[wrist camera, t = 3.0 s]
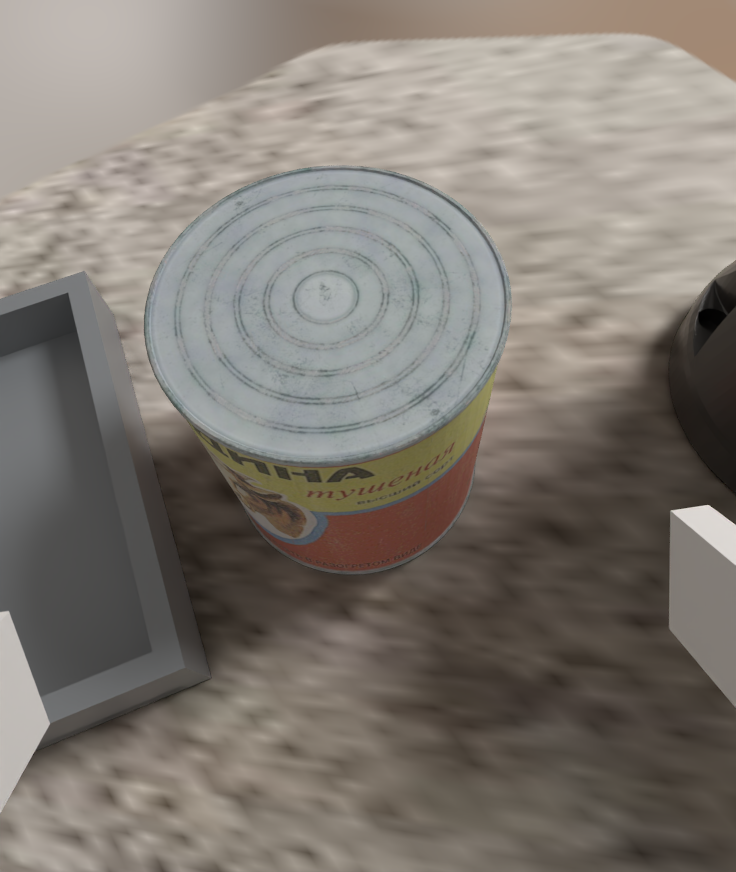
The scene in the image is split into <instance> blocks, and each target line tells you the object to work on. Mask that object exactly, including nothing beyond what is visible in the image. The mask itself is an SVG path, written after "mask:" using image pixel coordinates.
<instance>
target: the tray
mask: <svg viewBox="0 0 736 872" xmlns="http://www.w3.org/2000/svg"><path fill="white" fill-rule="evenodd" d="M5 611H9V613H10V616H11V618H12V621H13V624H14V627H15V629H16V632H17V635H18V638H19V640H20V643H21V646H22V648H23V651H24V654H25V657H26V659H27V662H28V665H29V668H30V670H31V673H32V676H33V679H34V681H35V684H36V687H37V689H38V692H39V695H40V698H41V700H42V703H43V706H44V709H45V711H46V714H47V717H48V720H49V722H50V725H49V726H48V728H47V730H46V732H45V734H44V736H43V737H42V739H41V741H40V743H39V745H38V746H37V748H36V750H35V751H37V750H39V749H42V748H44V747H47V746H49V745H51V744H54V743H56V742H59V741H61V740H63V739H66V738H68V737H71V736H73V735H75V734H78V733H80V732H83V731H85V730H87V729H90V728H92V727H95V726H97V725H99V724H102V723H104V722H107V721H109V720H111V719H114V718H116V717H119V716H121V715H124V714H126V713H128V712H131V711H133V710H136V709H138V708H140V707H143V706H145V705H148V704H150V703H152V702H155V701H157V700H160V699H162V698H164V697H167V696H169V695H172V694H174V693H176V692H179V691H181V690H184V689H186V688H188V687H191V686H193V685H196V684H198V683H200V682H203V681H205V680H208V679H210V678H211V674H210V671H209V667H208V663H207V659H206V656H205V652H204V648H203V645H202V641H201V637H200V633H199V630H198V626H197V622H196V619H195V615H194V611H193V607H192V604H191V600H190V596H189V593H188V589H187V585H186V582H185V578H184V574H183V570H182V567H181V563H180V559H179V556H178V552H177V548H176V544H175V541H174V537H173V533H172V530H171V526H170V522H169V518H168V515H167V511H166V507H165V504H164V500H163V496H162V492H161V489H160V485H159V481H158V478H157V474H156V470H155V466H154V463H153V459H152V455H151V452H150V448H149V444H148V441H147V437H146V433H145V429H144V426H143V422H142V418H141V415H140V411H139V407H138V403H137V400H136V396H135V392H134V389H133V385H132V381H131V377H130V374H129V370H128V366H127V363H126V359H125V355H124V351H123V348H122V344H121V340H120V337H119V333H118V329H117V325H116V322H115V318H114V314H113V313H112V311H111V310H110V308H109V307H108V305H107V304H106V302H105V301H104V299H103V298H102V296H101V295H100V293H99V292H98V290H97V289H96V287H95V286H94V284H93V283H92V281H91V280H90V278H89V277H88V275H87V274H86V272H85V271H83V272H80V273H77V274H74V275H71V276H68V277H65V278H62V279H59V280H56V281H53V282H50V283H47V284H44V285H41V286H38V287H35V288H32V289H29V290H26V291H23V292H20V293H17V294H14V295H11V296H8V297H5V298H2V299H0V612H5Z"/></svg>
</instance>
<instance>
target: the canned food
mask: <svg viewBox="0 0 736 872" xmlns="http://www.w3.org/2000/svg"><path fill="white" fill-rule="evenodd" d="M511 309H512V300H511V288H510V282H509V277H508V273H507V270H506V267H505V264H504V261H503V259H502V257H501V254H500V252H499V250H498V248H497V246H496V245H495V243H494V241H493V239H492V238H491V236H490V235H489V234H488V232H487V231H486V230H485V228H484V227H483V226H482V224H481V223H480V222H479V221H478V220H477V219H476V218H475V217H474V216H473V215H472V214H471V213H470V212H469V211H468V210H467V209H466V208H464V207H463V206H462V205H461V204H460V203H458V202H457V201H455V200H454V199H453V198H451V197H450V196H448V195H447V194H445V193H443V192H442V191H440V190H438V189H436V188H434V187H432V186H430V185H428V184H426V183H424V182H422V181H419V180H417V179H414V178H411V177H409V176H406V175H402V174H399V173H395V172H392V171H387V170H382V169H377V168H370V167H363V166H348V165H340V166H319V167H310V168H304V169H298V170H293V171H289V172H284V173H281V174H277V175H274V176H270V177H267V178H265V179H262V180H259V181H257V182H254V183H252V184H250V185H247V186H245V187H243V188H241V189H239V190H237V191H235V192H233V193H232V194H230V195H228V196H226V197H225V198H223V199H221V200H220V201H218V202H217V203H215V204H214V205H212V206H211V207H210V208H209V209H207V210H206V211H205V212H203V213H202V214H201V215H200V216H198V217H197V218H196V219H195V220H194V221H193V222H192V223H191V224H190V225H189V226H188V227H187V228H186V229H185V230H184V231H183V232H182V233H181V234H180V235H179V237H178V238H177V239H176V240H175V242H174V243H173V244H172V246H171V247H170V248H169V250H168V251H167V253H166V255H165V256H164V258H163V259H162V261H161V263H160V265H159V267H158V269H157V271H156V273H155V275H154V278H153V281H152V283H151V286H150V289H149V293H148V297H147V301H146V307H145V315H144V336H145V345H146V350H147V354H148V358H149V362H150V364H151V367H152V370H153V372H154V375H155V377H156V379H157V381H158V382H159V384H160V386H161V388H162V390H163V391H164V393H165V394H166V396H167V397H168V398H169V400H170V401H171V403H172V404H173V406H174V407H175V408H176V409H177V410H178V411H179V412H180V413H181V415H182V416H183V417H184V418H185V419H186V420H187V421H188V423H189V424H190V426H191V427H192V429H193V430H194V432H195V434H196V435H197V437H198V438H199V440H200V441H201V443H202V444H203V446H204V447H205V449H206V450H207V452H208V453H209V455H210V456H211V458H212V459H213V461H214V462H215V464H216V465H217V467H218V468H219V470H220V471H221V473H222V474H223V476H224V477H225V479H226V480H227V482H228V483H229V485H230V486H231V488H232V490H233V491H234V493H235V494H236V496H237V497H238V499H239V500H240V502H241V503H242V505H243V507H244V510H245V512H246V514H247V515H248V517H249V519H250V521H251V522H252V524H253V525H254V527H255V528H256V529H257V531H258V532H259V533H260V534H261V535H262V537H263V538H264V539H265V540H266V541H267V542H268V543H269V544H271V545H272V546H273V547H274V548H275V549H277V550H278V551H279V552H281V553H282V554H283V555H285V556H287V557H288V558H290V559H292V560H293V561H296V562H298V563H300V564H302V565H304V566H307V567H310V568H313V569H316V570H320V571H324V572H329V573H336V574H351V575H354V574H368V573H374V572H379V571H383V570H387V569H391V568H394V567H396V566H399V565H402V564H404V563H406V562H408V561H410V560H412V559H414V558H416V557H418V556H419V555H421V554H422V553H424V552H426V551H427V550H428V549H430V548H431V547H432V546H433V545H435V544H436V543H437V542H438V541H439V540H440V539H441V538H442V537H443V536H444V535H445V534H446V533H447V532H448V531H449V530H450V528H451V527H452V526H453V524H454V523H455V522H456V520H457V519H458V517H459V516H460V514H461V512H462V510H463V508H464V506H465V504H466V502H467V499H468V497H469V494H470V491H471V488H472V483H473V478H474V473H475V461H476V457H477V452H478V448H479V444H480V439H481V435H482V431H483V426H484V422H485V418H486V413H487V409H488V405H489V400H490V396H491V391H492V387H493V383H494V378H495V374H496V370H497V365H498V362H499V360H500V358H501V356H502V353H503V350H504V347H505V344H506V341H507V337H508V332H509V327H510V322H511Z"/></svg>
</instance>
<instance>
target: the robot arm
mask: <svg viewBox="0 0 736 872" xmlns="http://www.w3.org/2000/svg"><path fill="white" fill-rule="evenodd" d="M669 383H670V391H671V396H672V400H673V404H674V407H675V410H676V413H677V416H678V418H679V421H680V423H681V425H682V427H683V429H684V431H685V433H686V435H687V437H688V439H689V440H690V442H691V444H692V445H693V447H694V448H695V450H696V451H697V453H698V454H699V455H700V457H701V458H702V459H703V461H704V462H705V463H706V464H707V465H708V467H709V468H710V469H711V470H712V471H713V472H714V473H715V474H716V475H717V476H718V477H719V478H720V479H721V480H722V481H723V482H724V483H725V484H726V485H727V486H728V487H729V488H730V489H731V490H732V491H734V492H735V493H736V261H734V262H733V263H731V264H730V265H729V266H727V267H726V268H725V269H723V270H722V271H721V272H720V273H719V274H718V275H717V276H716V277H715V278H714V279H713V280H712V281H711V282H710V283H709V284H708V285H707V286H706V287H705V288H704V290H703V291H702V292H701V294H700V295H699V297H698V298H697V300H696V301H695V303H694V304H693V306H692V308H691V309H690V311H689V312H688V314H687V315H686V317H685V319H684V320H683V322H682V323H681V325H680V327H679V329H678V331H677V333H676V336H675V338H674V341H673V345H672V348H671V353H670V359H669ZM669 629H670V630H671V632H672V633H673V634H674V635H675V636H676V638H677V639H678V640H679V641H680V642H681V643H682V645H683V646H684V647H685V648H686V649H687V651H688V652H689V653H690V654H691V655H692V657H693V658H694V659H695V660H696V661H697V663H698V664H699V665H700V666H701V667H702V668H703V670H704V671H705V672H706V673H707V674H708V676H709V677H710V678H711V679H712V680H713V682H714V683H715V684H716V685H717V686H718V688H719V689H720V690H721V691H722V692H723V693H724V695H725V696H726V697H727V698H728V699H729V701H730V702H731V703H732V704H733V705H734V707H735V708H736V525H735V524H734V523H732V522H731V521H730V520H728V519H727V518H726V517H724V516H723V515H722V514H720V513H719V512H718V511H716V510H715V509H713V508H712V507H711V506H709V505H704V506H697V507H691V508H684V509H678V510H671V511H670V583H669ZM49 725H50V722H49V720H48V717H47V714H46V711H45V709H44V706H43V703H42V700H41V698H40V695H39V692H38V689H37V687H36V684H35V681H34V679H33V676H32V673H31V670H30V668H29V665H28V662H27V659H26V657H25V654H24V651H23V648H22V646H21V643H20V640H19V638H18V635H17V632H16V629H15V627H14V624H13V621H12V618H11V616H10V613H9V611H5V612H0V813H1V811H2V809H3V808H4V806H5V804H6V802H7V800H8V799H9V797H10V795H11V793H12V791H13V790H14V788H15V786H16V784H17V782H18V781H19V779H20V777H21V775H22V773H23V772H24V770H25V768H26V766H27V764H28V763H29V761H30V759H31V757H32V755H33V754H34V752H35V750H36V748H37V746H38V745H39V743H40V741H41V739H42V737H43V736H44V734H45V732H46V730H47V728H48V726H49Z"/></svg>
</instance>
